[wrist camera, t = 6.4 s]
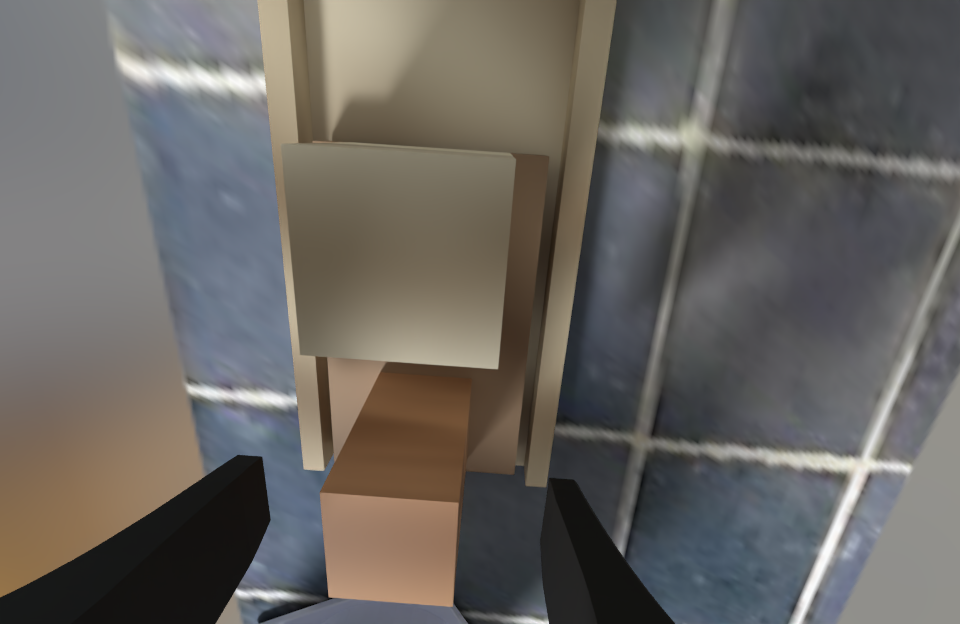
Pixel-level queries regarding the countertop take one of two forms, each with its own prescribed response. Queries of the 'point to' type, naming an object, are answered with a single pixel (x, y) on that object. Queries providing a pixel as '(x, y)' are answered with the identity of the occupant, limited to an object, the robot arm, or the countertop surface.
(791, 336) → the countertop surface
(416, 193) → the cube
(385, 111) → the rail bed
